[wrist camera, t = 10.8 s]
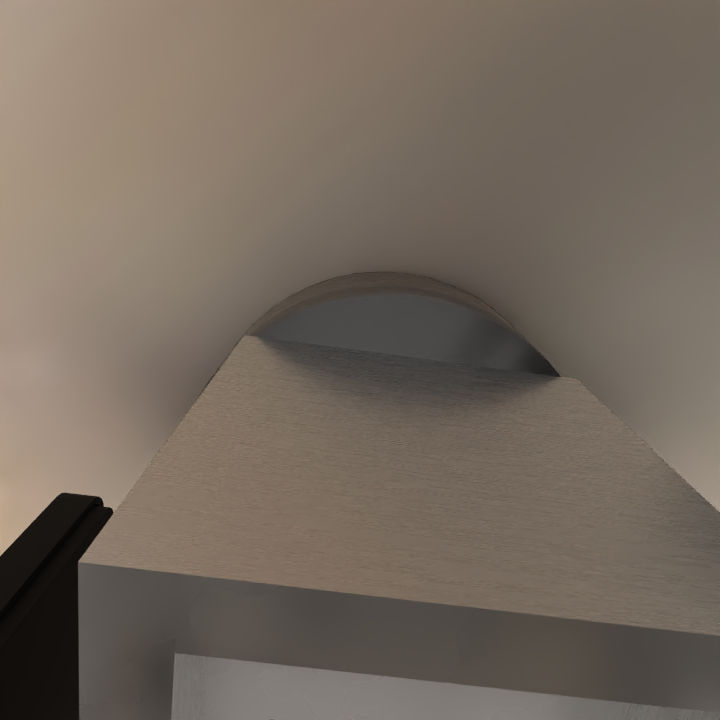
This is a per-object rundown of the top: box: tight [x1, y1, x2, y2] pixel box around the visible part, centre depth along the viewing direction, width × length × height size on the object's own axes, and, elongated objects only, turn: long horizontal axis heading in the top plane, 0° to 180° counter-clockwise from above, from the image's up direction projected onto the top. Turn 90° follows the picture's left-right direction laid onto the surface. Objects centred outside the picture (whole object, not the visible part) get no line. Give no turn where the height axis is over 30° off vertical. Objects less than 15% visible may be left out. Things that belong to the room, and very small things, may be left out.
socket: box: [78, 335, 720, 720], centre depth 9 cm, size 7×7×7 cm
